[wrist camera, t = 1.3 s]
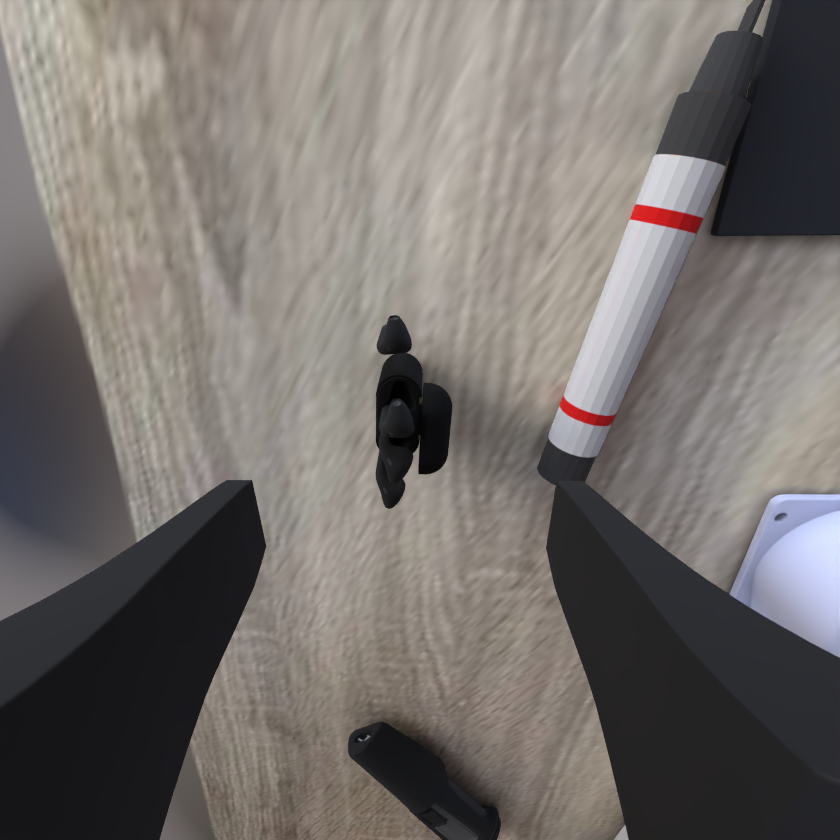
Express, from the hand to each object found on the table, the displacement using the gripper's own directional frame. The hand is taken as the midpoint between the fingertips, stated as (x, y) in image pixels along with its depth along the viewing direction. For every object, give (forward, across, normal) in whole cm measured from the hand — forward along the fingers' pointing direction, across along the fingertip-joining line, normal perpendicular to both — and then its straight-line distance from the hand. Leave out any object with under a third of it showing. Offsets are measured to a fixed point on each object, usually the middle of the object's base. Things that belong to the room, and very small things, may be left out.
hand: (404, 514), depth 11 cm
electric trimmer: (+8, -1, +28) cm, 29 cm away
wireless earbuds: (+8, 0, 0) cm, 8 cm away
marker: (+8, -8, -4) cm, 12 cm away
